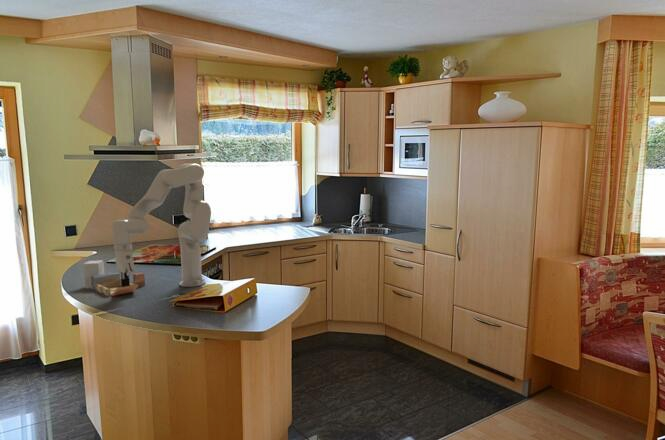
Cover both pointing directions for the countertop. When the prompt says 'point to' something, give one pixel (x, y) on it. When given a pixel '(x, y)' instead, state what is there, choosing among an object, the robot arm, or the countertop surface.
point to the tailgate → (124, 290)
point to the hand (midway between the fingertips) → (125, 286)
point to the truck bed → (106, 283)
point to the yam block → (139, 279)
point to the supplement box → (92, 271)
